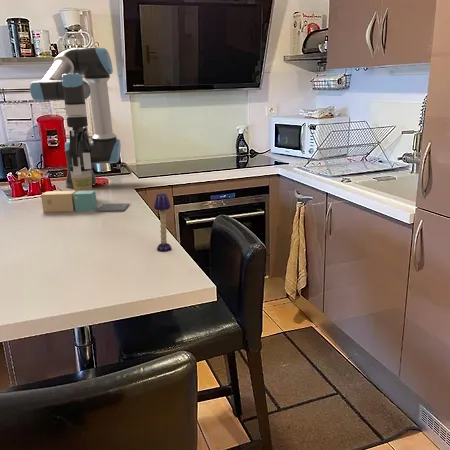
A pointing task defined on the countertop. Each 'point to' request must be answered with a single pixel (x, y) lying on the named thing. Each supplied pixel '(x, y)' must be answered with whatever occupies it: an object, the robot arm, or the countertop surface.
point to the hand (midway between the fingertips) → (83, 171)
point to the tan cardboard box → (58, 201)
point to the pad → (112, 207)
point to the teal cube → (85, 200)
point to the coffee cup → (82, 179)
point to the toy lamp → (162, 220)
